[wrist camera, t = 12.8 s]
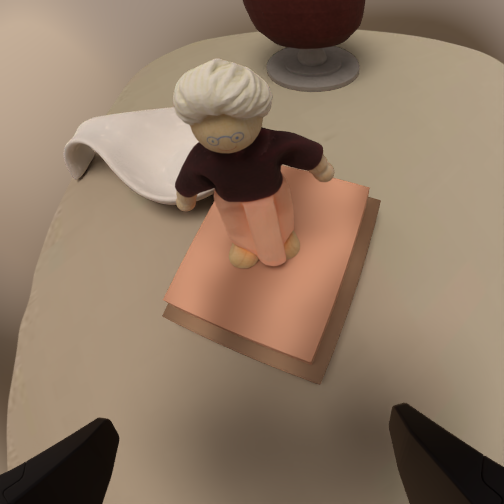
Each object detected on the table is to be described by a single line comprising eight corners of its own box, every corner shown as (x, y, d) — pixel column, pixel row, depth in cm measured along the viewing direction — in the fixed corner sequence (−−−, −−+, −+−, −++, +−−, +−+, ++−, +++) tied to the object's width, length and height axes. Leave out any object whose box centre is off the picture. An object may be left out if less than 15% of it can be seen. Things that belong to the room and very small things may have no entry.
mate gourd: (252, 96, 34) (206, -55, 16) (269, 45, 39) (241, -68, 21) (382, 100, 29) (387, -63, 12) (372, 48, 35) (367, -72, 17)
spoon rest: (268, 132, 30) (254, 77, 24) (235, 231, 26) (207, 179, 19) (104, 136, 37) (78, 101, 31) (63, 207, 33) (26, 175, 26)
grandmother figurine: (222, 291, 19) (94, 151, 7) (208, 239, 20) (103, 88, 9) (341, 248, 18) (354, 57, 7) (317, 199, 20) (300, 16, 9)
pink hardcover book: (376, 217, 24) (385, 180, 19) (319, 384, 20) (320, 385, 15) (246, 182, 28) (233, 145, 24) (176, 323, 24) (145, 307, 19)
